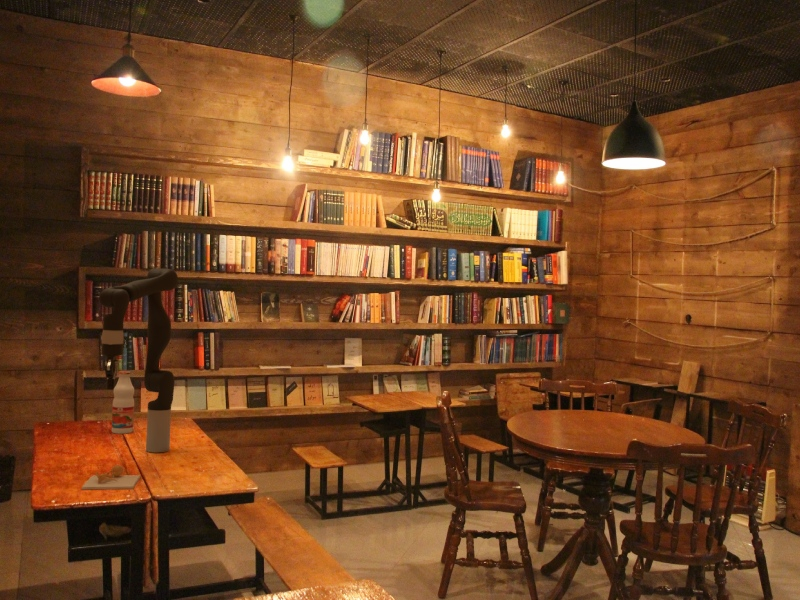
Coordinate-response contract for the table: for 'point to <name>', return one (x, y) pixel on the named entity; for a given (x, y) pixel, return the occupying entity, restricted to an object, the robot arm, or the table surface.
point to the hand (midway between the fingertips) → (110, 388)
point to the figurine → (115, 471)
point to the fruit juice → (123, 405)
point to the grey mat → (112, 482)
